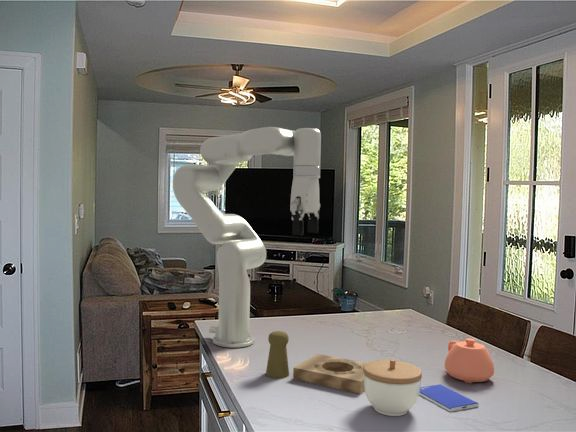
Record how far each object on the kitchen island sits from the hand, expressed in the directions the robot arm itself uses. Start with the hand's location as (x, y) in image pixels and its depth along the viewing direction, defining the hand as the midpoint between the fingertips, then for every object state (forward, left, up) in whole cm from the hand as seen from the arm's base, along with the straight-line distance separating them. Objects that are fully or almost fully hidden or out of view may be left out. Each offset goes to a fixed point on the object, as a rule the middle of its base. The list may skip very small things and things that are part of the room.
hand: (305, 233), depth 155 cm
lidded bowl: (+34, -22, -36) cm, 54 cm away
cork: (+1, -16, -36) cm, 39 cm away
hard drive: (+43, -9, -36) cm, 57 cm away
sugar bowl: (+44, +10, -36) cm, 57 cm away
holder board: (+16, -10, -35) cm, 40 cm away
